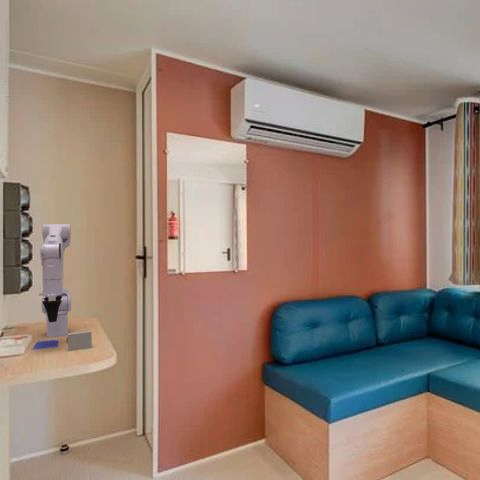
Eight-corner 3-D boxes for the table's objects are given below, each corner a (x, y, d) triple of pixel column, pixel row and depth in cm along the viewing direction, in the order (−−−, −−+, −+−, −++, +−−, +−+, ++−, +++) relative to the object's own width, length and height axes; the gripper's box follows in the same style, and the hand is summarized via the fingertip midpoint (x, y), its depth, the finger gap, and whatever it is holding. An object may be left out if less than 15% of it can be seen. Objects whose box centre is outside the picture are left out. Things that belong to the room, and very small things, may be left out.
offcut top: (66, 341, 128) (66, 336, 128) (78, 338, 131) (78, 334, 131) (71, 343, 126) (71, 338, 126) (82, 340, 128) (82, 336, 128)
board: (68, 351, 119) (67, 333, 119) (91, 348, 122) (90, 330, 122) (68, 353, 116) (67, 334, 116) (91, 350, 119) (91, 332, 119)
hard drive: (59, 346, 121) (61, 337, 133) (31, 349, 118) (35, 340, 129) (59, 351, 121) (61, 342, 133) (31, 354, 118) (35, 345, 129)
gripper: (39, 278, 127) (40, 317, 127) (37, 282, 114) (38, 325, 114) (62, 276, 130) (63, 314, 130) (62, 280, 117) (63, 322, 117)
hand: (53, 319), depth 122 cm, fingers open, 7 cm apart
